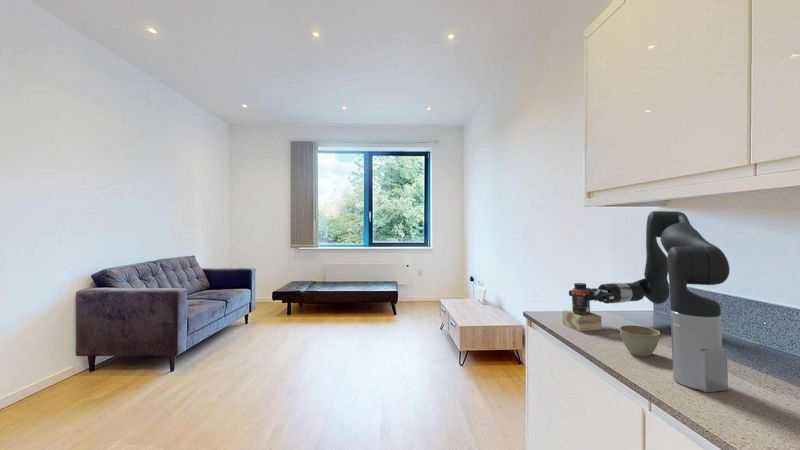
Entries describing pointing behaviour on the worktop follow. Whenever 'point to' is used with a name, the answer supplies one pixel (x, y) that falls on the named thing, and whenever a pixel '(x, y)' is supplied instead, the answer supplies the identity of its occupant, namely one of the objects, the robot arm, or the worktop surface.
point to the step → (582, 321)
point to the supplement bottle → (580, 299)
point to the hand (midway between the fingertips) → (576, 295)
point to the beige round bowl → (639, 339)
